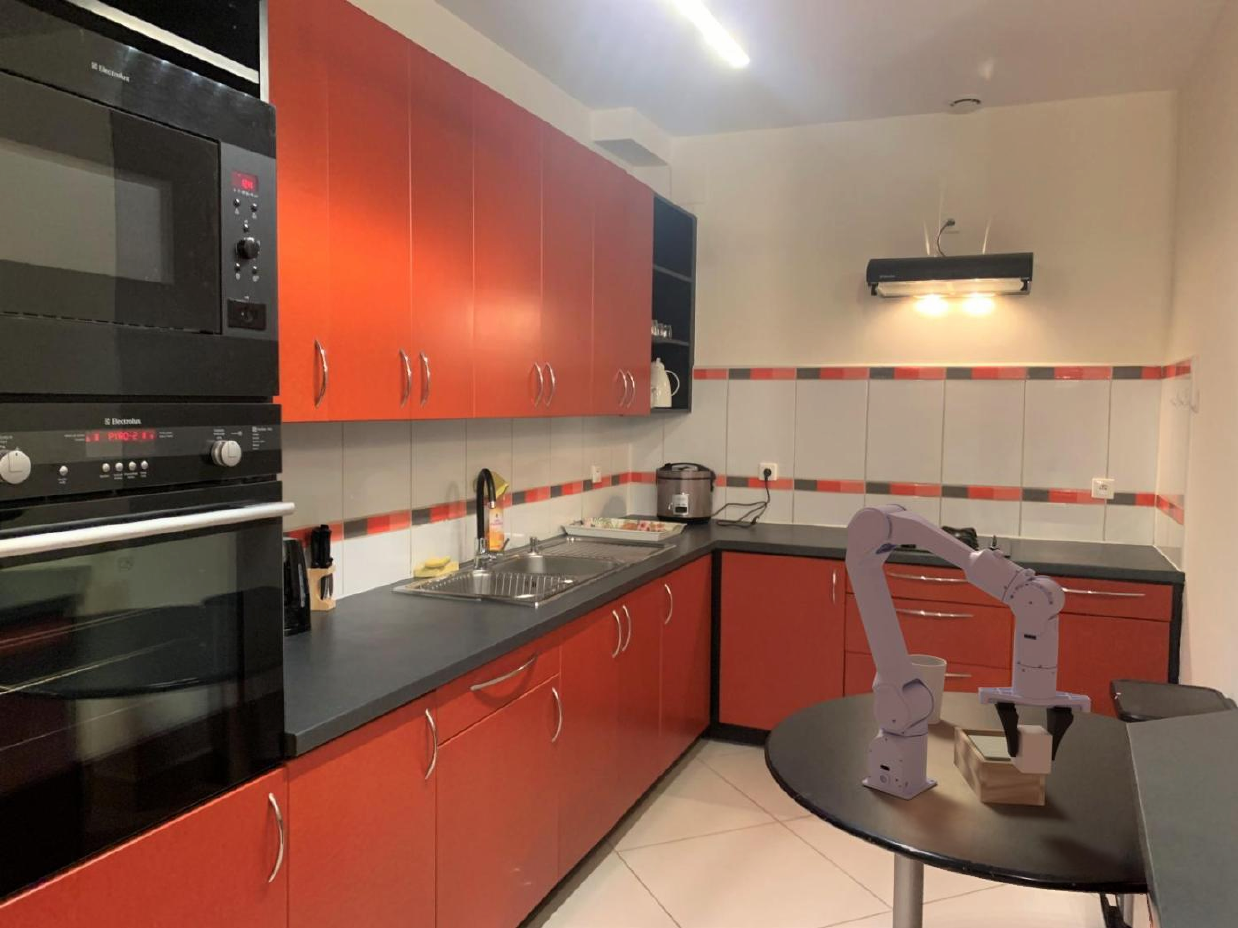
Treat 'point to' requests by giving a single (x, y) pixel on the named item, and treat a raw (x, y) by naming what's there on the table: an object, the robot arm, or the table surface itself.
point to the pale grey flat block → (991, 747)
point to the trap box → (995, 773)
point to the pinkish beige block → (1033, 749)
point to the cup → (932, 680)
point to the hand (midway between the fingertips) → (1030, 756)
